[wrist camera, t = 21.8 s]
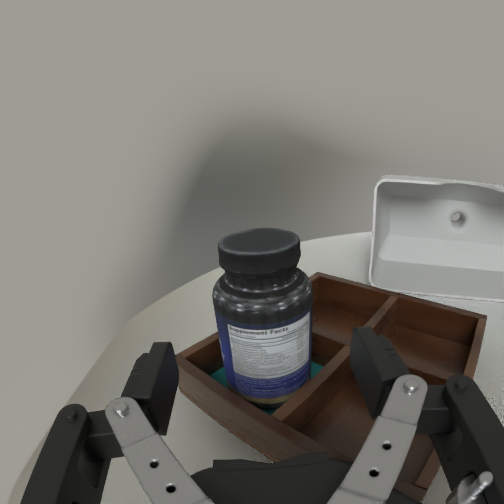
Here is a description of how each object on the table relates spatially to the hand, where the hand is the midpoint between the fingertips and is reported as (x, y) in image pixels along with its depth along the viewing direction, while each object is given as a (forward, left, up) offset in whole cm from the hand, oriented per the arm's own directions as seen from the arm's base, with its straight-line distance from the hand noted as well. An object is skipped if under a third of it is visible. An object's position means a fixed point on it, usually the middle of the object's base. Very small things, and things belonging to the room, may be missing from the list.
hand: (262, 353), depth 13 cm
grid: (+9, 0, -9) cm, 12 cm away
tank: (+35, -4, -9) cm, 36 cm away
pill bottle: (+5, +4, -8) cm, 10 cm away
